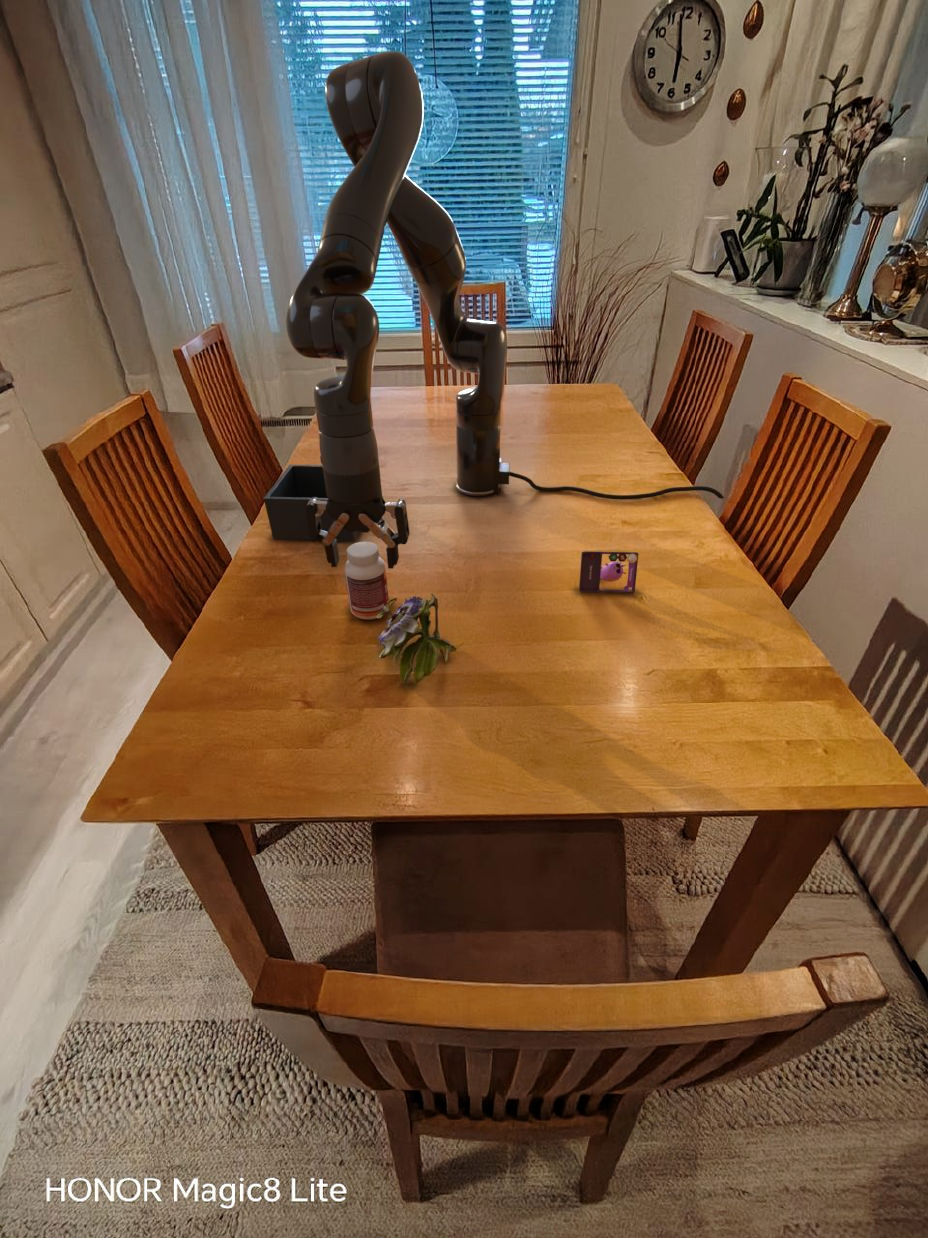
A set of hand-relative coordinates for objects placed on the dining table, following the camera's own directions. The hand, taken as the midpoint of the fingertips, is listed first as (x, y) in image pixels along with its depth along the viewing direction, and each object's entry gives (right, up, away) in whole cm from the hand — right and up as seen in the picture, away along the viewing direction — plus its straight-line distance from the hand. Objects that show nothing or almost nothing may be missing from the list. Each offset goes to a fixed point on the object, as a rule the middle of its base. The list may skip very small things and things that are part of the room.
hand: (363, 565), depth 88 cm
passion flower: (+8, -14, -4) cm, 17 cm away
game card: (+39, -3, +10) cm, 40 cm away
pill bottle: (0, -7, +5) cm, 9 cm away
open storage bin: (-13, +11, +29) cm, 34 cm away
